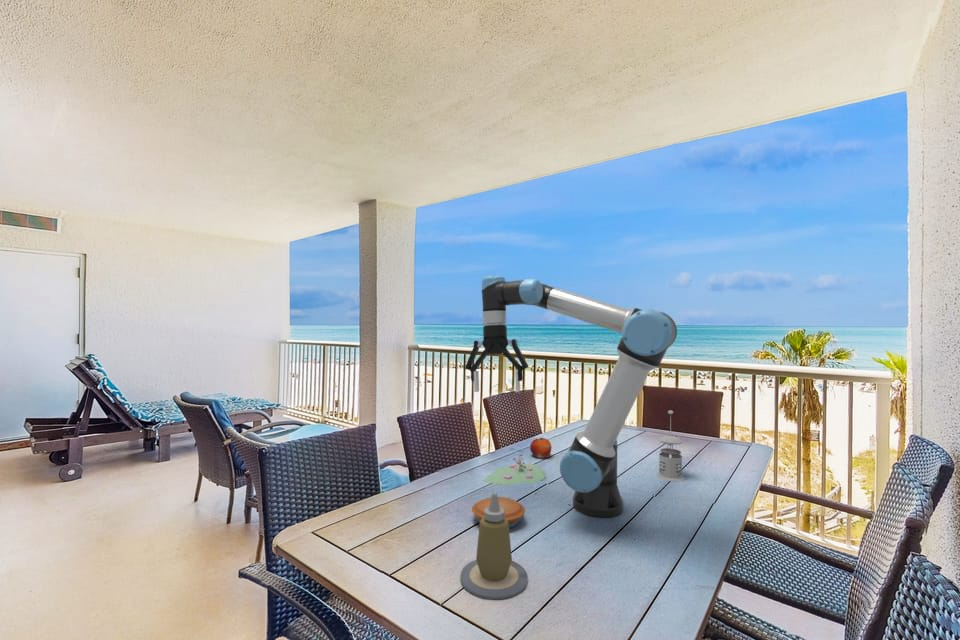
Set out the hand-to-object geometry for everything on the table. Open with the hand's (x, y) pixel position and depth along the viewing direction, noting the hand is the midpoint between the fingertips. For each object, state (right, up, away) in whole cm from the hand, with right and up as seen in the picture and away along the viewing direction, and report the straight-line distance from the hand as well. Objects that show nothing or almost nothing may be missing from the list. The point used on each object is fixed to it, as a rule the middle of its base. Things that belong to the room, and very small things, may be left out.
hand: (497, 391), depth 140 cm
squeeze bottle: (-2, -35, -41) cm, 54 cm away
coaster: (-2, -35, -41) cm, 54 cm away
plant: (+8, -37, +26) cm, 45 cm away
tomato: (+21, -36, +50) cm, 65 cm away
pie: (0, -36, -12) cm, 38 cm away
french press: (+66, -36, +26) cm, 80 cm away
